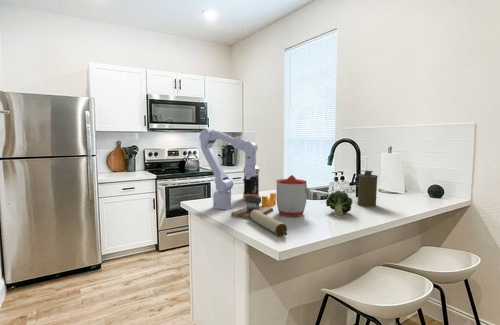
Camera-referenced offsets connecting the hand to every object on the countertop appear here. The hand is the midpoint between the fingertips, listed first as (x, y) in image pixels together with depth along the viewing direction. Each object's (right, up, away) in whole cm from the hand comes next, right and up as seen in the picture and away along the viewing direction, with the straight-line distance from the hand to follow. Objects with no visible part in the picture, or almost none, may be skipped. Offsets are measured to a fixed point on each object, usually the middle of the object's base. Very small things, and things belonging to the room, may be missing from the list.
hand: (250, 191), depth 154 cm
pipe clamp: (+10, -10, +13) cm, 19 cm away
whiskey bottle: (0, -8, +28) cm, 29 cm away
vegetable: (+46, -11, -4) cm, 47 cm away
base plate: (+1, -11, -5) cm, 12 cm away
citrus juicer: (+21, -11, -6) cm, 25 cm away
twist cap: (+1, -9, -5) cm, 10 cm away
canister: (+67, -10, +16) cm, 70 cm away
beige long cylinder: (+7, -13, -28) cm, 31 cm away
